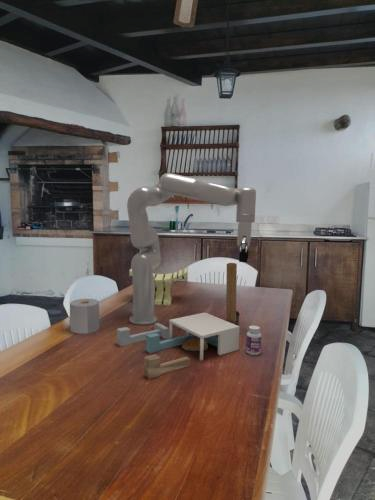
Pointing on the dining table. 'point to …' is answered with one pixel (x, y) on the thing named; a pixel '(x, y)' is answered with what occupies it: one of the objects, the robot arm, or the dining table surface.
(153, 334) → the blue-grey long flat part
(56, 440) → the dining table surface
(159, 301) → the slatted curved stool
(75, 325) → the toilet paper roll
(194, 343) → the pastry
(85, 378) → the dining table surface
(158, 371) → the brown angular wooden piece
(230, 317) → the hammer
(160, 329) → the tee stick
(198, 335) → the desk
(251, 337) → the pill bottle
